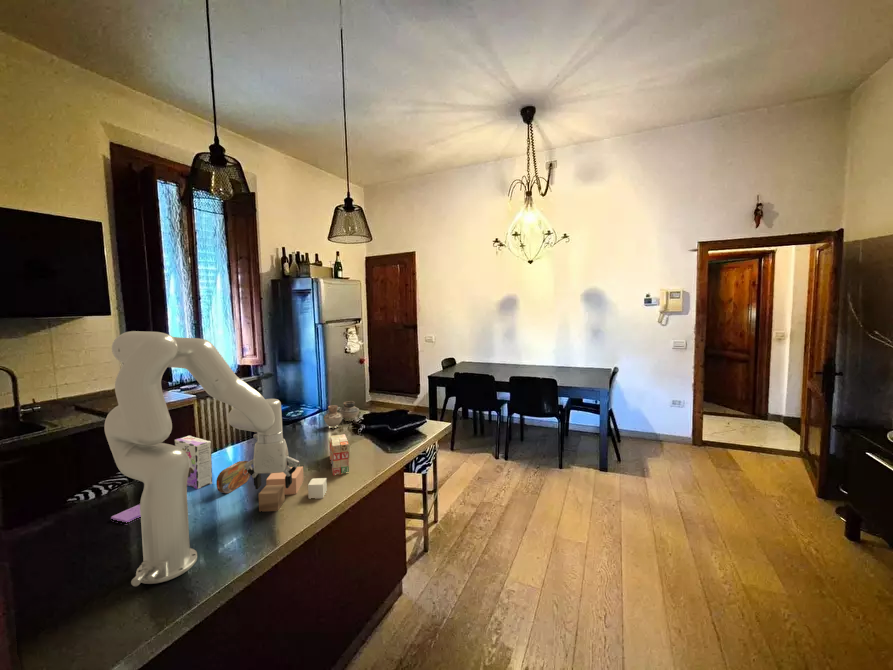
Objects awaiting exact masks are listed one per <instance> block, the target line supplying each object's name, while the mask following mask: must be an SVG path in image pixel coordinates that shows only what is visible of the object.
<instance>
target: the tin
mask: <svg viewBox="0 0 893 670" xmlns="http://www.w3.org/2000/svg"><path fill="white" fill-rule="evenodd" d="M247 462H249V461H248V460H240V461H237V462H235V463H233V464H231V465H230V466H228V467H226V468H224V469H223V470H221V471H220V472H219V474H218V475H217V477H216V480H215V482H216V483H215V485H216V489H217V491H218V492H219V493H221V494H231V493H233V492H234V491H235V490H238V488H240V487H241V486H243V485H244V484H246V483H247V482H248V481H249V479H250V478H251V477H252V475H250V474H249V473H248V470H247V469H246V468H245V466H244V465H245V464H246V463H247Z"/></svg>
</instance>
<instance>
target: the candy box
mask: <svg viewBox="0 0 893 670" xmlns="http://www.w3.org/2000/svg"><path fill="white" fill-rule="evenodd" d="M174 446H177V447H179V448H181V449H182V450H184V451H185V452H186V453H187V455H188V457H189V461H190V467H189V473H188V479H187V487H191V488H193V489H196V490H199V489H202V488H204V487H207V486H210V485H212V484H213V469H212V466H213V465H212V464H213V463H212V442H211V440H206V439H204V438H199V437H195V436H192V435H187V436H182V437H180V438H176V439H174Z"/></svg>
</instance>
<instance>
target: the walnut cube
mask: <svg viewBox="0 0 893 670" xmlns="http://www.w3.org/2000/svg"><path fill="white" fill-rule="evenodd" d="M285 499H286V497H285V495H284V485H265V486H264V487H263V488H262V489H261V491H260V492H258V512H261V511H262V512H279V511H280V509H281V507H282V506H283V505H284V503H285ZM278 510H279V511H278Z"/></svg>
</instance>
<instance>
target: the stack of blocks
mask: <svg viewBox="0 0 893 670" xmlns="http://www.w3.org/2000/svg"><path fill="white" fill-rule="evenodd" d="M328 445H329V447H328V448H329V460H331V461H330V464H332V466H331V472H332V476H336V475H335V474H340V475H342V474H341V473H346V472H349V473H350V464H349V460H350V459H349V458H350V457H349V456H350V453H349V451H350V450H349V449H350V444H349V441H348V438H347V436H346V434H335V435H329V436H328Z"/></svg>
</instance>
